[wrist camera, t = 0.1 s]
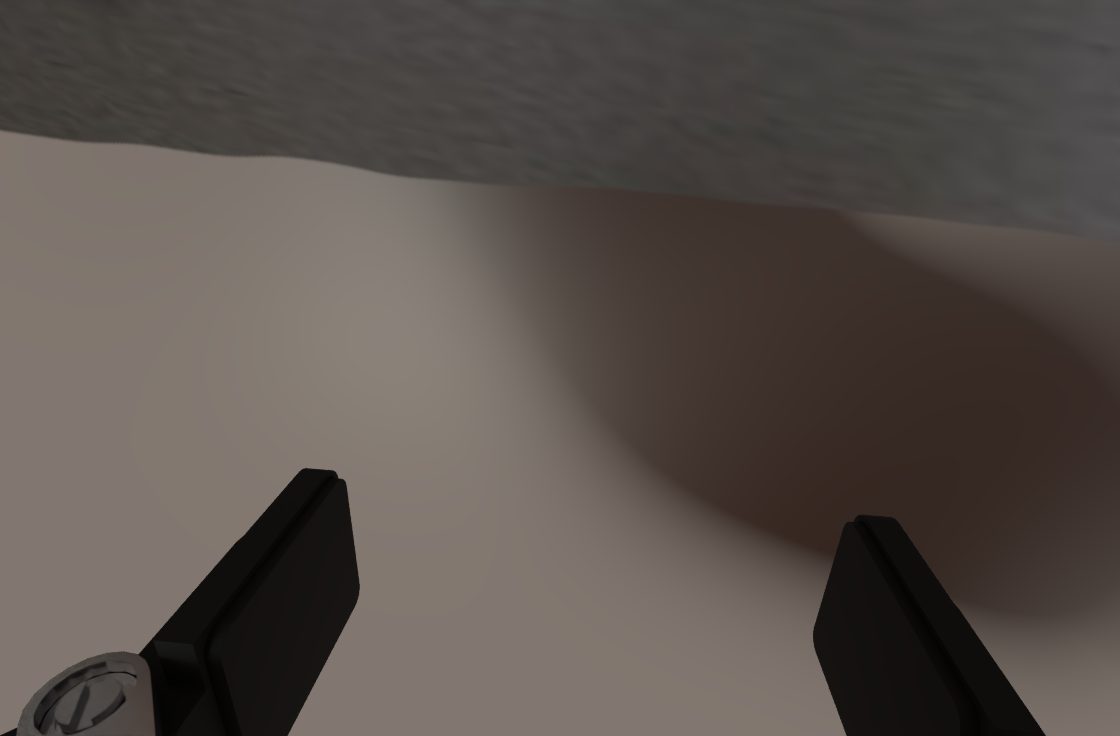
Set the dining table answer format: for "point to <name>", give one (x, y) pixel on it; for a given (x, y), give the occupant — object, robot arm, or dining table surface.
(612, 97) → the dining table surface
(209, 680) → the robot arm
